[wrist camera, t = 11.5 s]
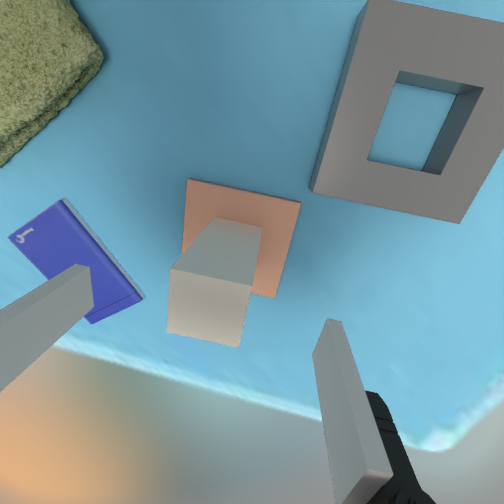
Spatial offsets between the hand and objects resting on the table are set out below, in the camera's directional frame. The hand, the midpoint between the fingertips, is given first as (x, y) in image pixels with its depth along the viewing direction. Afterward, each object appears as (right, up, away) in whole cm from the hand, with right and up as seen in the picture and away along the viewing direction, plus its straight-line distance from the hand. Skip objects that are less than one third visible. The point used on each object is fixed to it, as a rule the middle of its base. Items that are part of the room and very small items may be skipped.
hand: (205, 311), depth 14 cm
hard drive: (-16, +2, +14) cm, 21 cm away
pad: (+1, +4, +10) cm, 11 cm away
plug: (+1, +4, +10) cm, 10 cm away
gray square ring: (+14, +13, +5) cm, 20 cm away
